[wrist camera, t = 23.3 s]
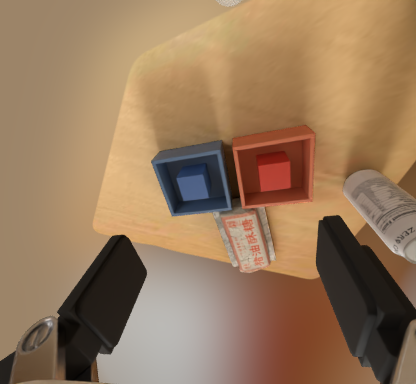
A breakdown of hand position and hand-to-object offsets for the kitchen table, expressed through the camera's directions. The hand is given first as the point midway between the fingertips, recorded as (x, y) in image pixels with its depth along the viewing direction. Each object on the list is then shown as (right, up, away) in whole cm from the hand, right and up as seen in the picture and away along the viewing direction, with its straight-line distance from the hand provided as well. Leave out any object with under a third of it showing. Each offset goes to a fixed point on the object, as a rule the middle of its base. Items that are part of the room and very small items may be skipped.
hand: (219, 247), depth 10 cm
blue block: (-2, +6, +27) cm, 28 cm away
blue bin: (-2, +6, +28) cm, 28 cm away
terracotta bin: (+10, +8, +25) cm, 28 cm away
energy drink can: (+26, +4, +25) cm, 36 cm away
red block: (+10, +7, +24) cm, 27 cm away
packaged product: (+7, -5, +33) cm, 35 cm away
